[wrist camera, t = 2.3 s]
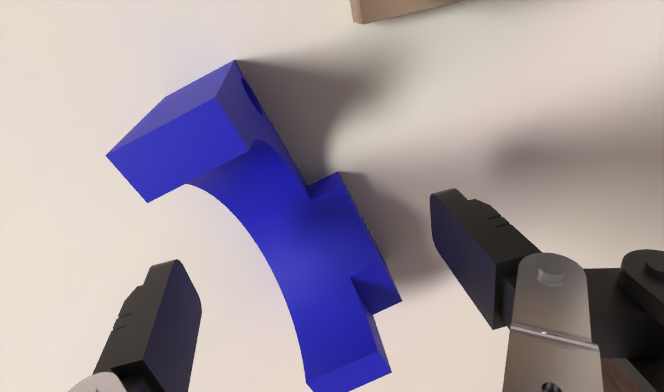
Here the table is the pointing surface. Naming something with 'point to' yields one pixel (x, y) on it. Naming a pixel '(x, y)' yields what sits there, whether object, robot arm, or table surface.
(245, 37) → the table surface
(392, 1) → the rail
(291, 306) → the blue curved cradle
